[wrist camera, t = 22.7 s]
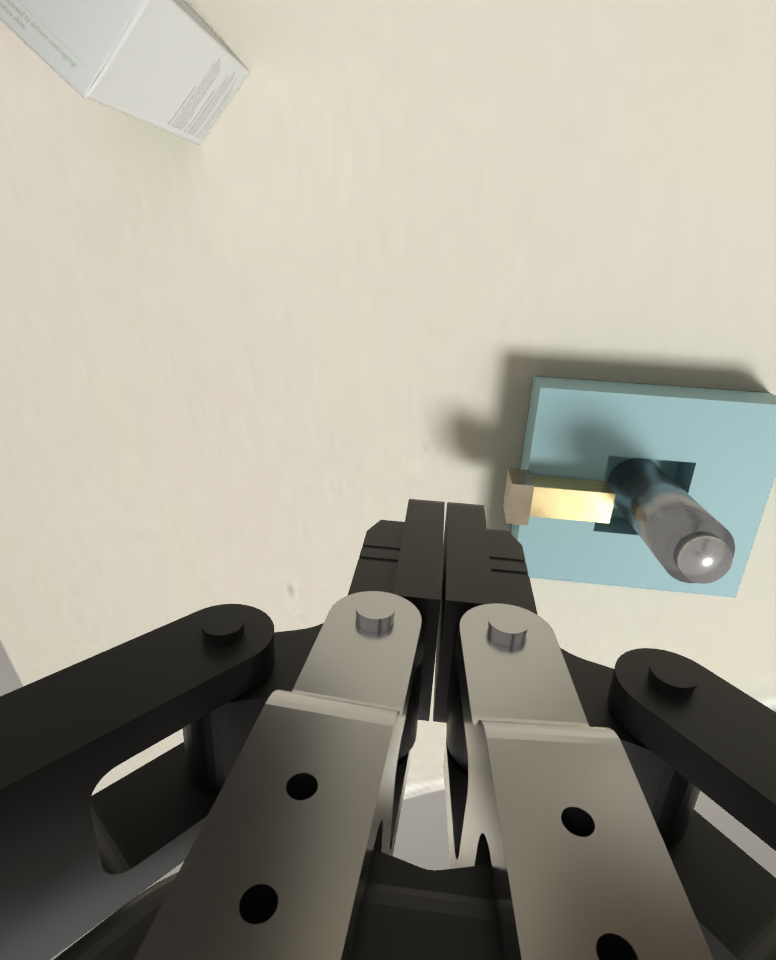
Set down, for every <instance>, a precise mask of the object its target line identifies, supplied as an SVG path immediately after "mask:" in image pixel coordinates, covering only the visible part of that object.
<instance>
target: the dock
mask: <svg viewBox="0 0 776 960" xmlns="http://www.w3.org/2000/svg"><path fill="white" fill-rule="evenodd" d="M633 458H643V459H648V460H650V461H652V462H653V463H655V464H656V465H657V466H658V467H659V468H660V469H661V470H662V471H664V472H665V473H666V474H667V475H668V476H669V477H670V478H671V479H672V480H673V481H675V482H676V483H677V484H678V485H679V486H680V487H681V488H682V489H683V490H684V491H686V492H687V493H688V494H689V495H690V496H691V497H692V498H693V499H694V500H695V501H697V502H698V503H699V504H700V505H701V506H702V507H703V508H704V509H705V510H706V511H708V512H709V513H710V514H711V515H712V516H713V517H714V518H715V519H716V520H717V521H719V522H720V523H721V524H722V525H723V526H724V527H725V528H726V529H727V530H728V531H729V532H730V533H731V535H732V536H733V539H734V542H735V553H734V557H733V561H732V565H731V568H730V569H729V571H728V572H727V573H726V574H725V575H724V576H723V577H722V578H720V579H719V580H717V581H714V582H711V583H707V584H700V583H684V582H681V581H678V580H676V579H674V578H673V577H671V576H670V575H669V574H668V573H667V571H666V570H665V569H664V567H663V566H662V565H661V564H660V562H659V561H658V560H657V558H656V557H655V556H654V554H653V553H652V552H651V550H650V549H649V548H648V546H647V545H646V544H645V543H644V541H643V540H642V539H641V537H640V536H639V535H638V533H637V532H636V531H635V529H634V528H633V527H632V525H631V524H630V523H629V522H628V520H627V519H626V518H625V516H624V515H623V514H622V512H621V511H620V510H619V508H618V507H617V506H616V504H615V503H614V504H613V509H612V513H611V518H610V522H609V523H599V522H588V521H577V520H566V519H555V518H543V517H532V516H530V517H529V523H528V526H527V525H516V524H512V528H511V534H512V535H513V536H514V537H515V538H516V539H517V540H518V541H519V542H520V544H521V545H522V547H523V552H524V556H525V563H526V565H527V570H528V575H529V578H538V579H549V580H559V581H569V582H580V583H590V584H600V585H611V586H621V587H631V588H641V589H652V590H662V591H672V592H683V593H693V594H703V595H713V596H724V597H734V598H736V595H737V592H738V589H739V586H740V583H741V580H742V576H743V573H744V570H745V567H746V564H747V561H748V558H749V555H750V552H751V549H752V546H753V543H754V540H755V537H756V533H757V530H758V527H759V524H760V521H761V518H762V515H763V512H764V509H765V506H766V503H767V500H768V497H769V494H770V490H771V487H772V484H773V481H774V478H775V475H776V396H775V395H773V394H771V393H763V392H749V391H735V390H721V389H707V388H693V387H679V386H665V385H651V384H637V383H623V382H609V381H595V380H581V379H567V378H553V377H539V376H534V378H533V384H532V391H531V398H530V405H529V412H528V419H527V425H526V432H525V439H524V446H523V453H522V459H521V466H520V469H524V470H529V471H530V474H531V475H537V476H549V477H561V478H573V479H585V480H596V481H608V478H609V476H610V474H611V472H612V471H613V469H614V468H615V467H616V466H617V465H619V464H620V463H622V462H624V461H626V460H629V459H633Z"/></svg>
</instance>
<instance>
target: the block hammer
mask: <svg viewBox="0 0 776 960" xmlns="http://www.w3.org/2000/svg"><path fill="white" fill-rule="evenodd" d="M615 495H616V494H615V492H614V490H613V489H612V487H611V486H610V484H609V483H608V481H596V480H585V479H573V478H561V477H549V476H537V475H531V474H530V471H529V470H524V469H512V468H508V473H507V480H506V487H505V495H504V502H503V509H504V514H505V519H506V524H516V525H527V526H528V523H529V517H530V516H532V517H543V518H555V519H566V520H577V521H588V522H599V523H609V522H610V518H611V513H612V509H613V504H614V499H615Z"/></svg>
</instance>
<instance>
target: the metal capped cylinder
mask: <svg viewBox="0 0 776 960" xmlns="http://www.w3.org/2000/svg"><path fill="white" fill-rule="evenodd" d="M608 483H609V484H610V486H611V487H612V489H613V490H614V492H615V494H616V495H615V499H614V503H615V504H616V506H617V507H618V508H619V510H620V511H621V512H622V514H623V515H624V516H625V518H626V519H627V520H628V522H629V523H630V524H631V525H632V527H633V528H634V529H635V531H636V532H637V533H638V535H639V536H640V537H641V539H642V540H643V541H644V543H645V544H646V545H647V546H648V548H649V549H650V550H651V552H652V553H653V554H654V556H655V557H656V558H657V560H658V561H659V562H660V564H661V565H662V566H663V567H664V569H665V570H666V571H667V573H668V574H669V575H670V576H671V577H673V578H674V579H676V580H678V581H681V582H684V583H700V584H707V583H711V582H714V581H717V580H719V579H720V578H722V577H723V576H724V575H725V574H726V573H727V572H728V571H729V569H730V568H731V565H732V561H733V557H734V553H735V542H734V539H733V536H732V535H731V533H730V532H729V531H728V530H727V529H726V528H725V527H724V526H723V525H722V524H721V523H720V522H719V521H717V520H716V519H715V518H714V517H713V516H712V515H711V514H710V513H709V512H708V511H706V510H705V509H704V508H703V507H702V506H701V505H700V504H699V503H698V502H697V501H695V500H694V499H693V498H692V497H691V496H690V495H689V494H688V493H687V492H686V491H684V490H683V489H682V488H681V487H680V486H679V485H678V484H677V483H676V482H675V481H673V480H672V479H671V478H670V477H669V476H668V475H667V474H666V473H665V472H664V471H662V470H661V469H660V468H659V467H658V466H657V465H656V464H655V463H653V462H652V461H650V460H648V459H643V458H633V459H629V460H626V461H624V462H622V463H620V464H619V465H617V466H616V467H615V468H614V469H613V471H612V472H611V474H610V476H609V478H608Z"/></svg>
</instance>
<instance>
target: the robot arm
mask: <svg viewBox="0 0 776 960" xmlns="http://www.w3.org/2000/svg"><path fill="white" fill-rule="evenodd" d="M444 504H445V502H439V501H427V500H416V499H409V502H408V508H407V514H406V519H405V522H398V521H387V520H380V521H379V522H378V523H376V524H375V525H374V526H373V527H371V528H370V529H369V530H368V531H367V533H366V536H365V540H364V543H363V547H362V550H361V553H360V557H359V560H358V563H357V566H356V570H355V573H354V576H353V580H352V583H351V586H350V590H349V593H348V596H346V597H344V598H342V599H340V600H339V601H337V602H336V603H335V604H334V605H333V606H332V608H331V609H330V611H329V613H328V615H327V618H326V620H325V622H324V623H323V624H320V625H318V626H315V627H311V628H307V629H301V630H293V631H284V632H275V633H274V625H273V622H272V620H271V619H270V617H269V616H268V615H267V614H266V613H264V612H263V611H261V610H259V609H257V608H255V607H251V606H247V605H241V604H223V605H216V606H212V607H208V608H205V609H202V610H199V611H197V612H195V613H192V614H190V615H188V616H185V617H183V618H181V619H178V620H176V621H174V622H171V623H169V624H167V625H165V626H162V627H160V628H158V629H155V630H153V631H151V632H148V633H146V634H144V635H141V636H139V637H137V638H135V639H132V640H130V641H128V642H125V643H123V644H121V645H118V646H116V647H114V648H111V649H109V650H107V651H105V652H102V653H100V654H98V655H95V656H93V657H91V658H88V659H86V660H84V661H81V662H79V663H77V664H74V665H72V666H70V667H68V668H65V669H63V670H61V671H58V672H56V673H54V674H51V675H49V676H47V677H44V678H42V679H40V680H38V681H35V682H33V683H31V684H28V685H26V686H24V687H21V688H19V689H17V690H14V691H12V692H10V693H8V694H5V695H3V696H1V697H0V960H50V959H51V958H52V957H54V956H55V955H57V954H58V953H59V952H60V951H62V950H63V949H65V948H66V947H68V946H69V945H70V944H72V943H73V942H74V941H76V940H77V939H78V938H80V937H81V936H82V935H84V934H85V933H87V932H88V931H89V930H91V929H92V928H93V927H95V926H96V925H98V924H99V923H100V922H101V921H103V920H104V919H105V920H104V921H103V922H102V923H100V924H99V925H98V926H96V927H95V928H94V929H93V930H91V931H90V932H89V933H88V934H86V935H85V936H84V937H82V938H81V939H80V940H79V941H77V942H76V943H74V944H73V945H72V946H71V947H69V948H68V949H67V950H65V951H64V952H63V953H62V954H60V955H59V956H58V957H56V958H55V959H54V960H776V878H775V877H774V876H772V875H771V874H770V873H769V872H768V871H766V870H765V869H764V868H763V867H762V866H761V865H759V864H758V863H757V862H756V861H754V860H753V859H752V858H751V857H750V856H749V855H747V854H746V853H745V852H744V851H743V850H741V849H740V848H739V847H738V846H737V845H736V844H734V843H733V842H732V841H731V840H730V839H728V838H727V837H726V836H725V835H724V834H722V833H721V832H720V831H719V830H718V829H716V828H715V827H714V826H713V825H712V824H711V823H709V822H708V821H707V820H706V819H704V818H703V817H702V816H701V815H700V814H699V813H697V812H696V811H695V810H694V806H695V804H696V801H697V798H698V795H699V792H700V790H701V791H702V792H703V793H704V794H706V795H707V796H708V797H709V798H711V799H712V800H714V802H716V803H717V804H718V805H719V806H721V807H722V808H723V809H724V810H726V811H727V812H728V813H729V814H730V815H732V816H733V817H734V818H735V819H737V820H738V821H739V822H740V823H742V824H743V825H744V826H745V827H747V828H748V829H749V830H750V831H752V832H753V833H754V834H755V835H757V836H758V837H759V838H760V839H761V840H763V841H764V842H765V843H767V844H768V845H769V846H770V847H771V848H773V849H774V850H775V851H776V712H774V711H773V710H771V709H769V708H768V707H766V706H765V705H763V704H762V703H760V702H758V701H757V700H755V699H754V698H752V697H750V696H749V695H747V694H746V693H744V692H742V691H741V690H739V689H738V688H736V687H735V686H733V685H731V684H730V683H728V682H727V681H725V680H723V679H722V678H720V677H719V676H717V675H715V674H714V673H712V672H711V671H709V670H708V669H706V668H704V667H703V666H701V665H699V664H698V663H696V662H694V661H692V660H690V659H688V658H686V657H684V656H681V655H678V654H676V653H672V652H669V651H665V650H659V649H650V648H643V649H635V650H631V651H628V652H626V653H624V654H623V655H621V656H620V657H619V658H618V660H617V662H616V664H615V669H612V668H609V667H606V666H603V665H600V664H597V663H593V662H590V661H587V660H584V659H582V658H579V657H577V656H574V655H572V654H570V653H568V652H567V651H565V650H563V649H561V648H560V647H559V644H558V641H557V639H556V636H555V633H554V631H553V629H552V628H551V627H550V625H549V624H548V623H547V622H546V621H545V620H544V619H542V618H541V617H540V616H538V615H537V610H536V606H535V601H534V597H533V592H532V588H531V583H530V579H529V575H528V570H527V565H526V563H525V556H524V552H523V547H522V545H521V544H520V542H519V541H518V540H517V539H516V538H515V537H514V536H513V535H512V534H511V533H510V532H509V531H498V530H487V529H486V521H485V512H484V506H483V505H474V504H463V503H451V502H448V503H447V511H446V521H445V531H444V542H443V530H444ZM435 654H436V666H435V689H434V711H433V721H436V722H445V723H447V738H446V746H445V755H444V782H445V796H446V811H447V825H448V839H449V854H450V868H451V869H447V870H435V871H433V870H426V869H423V868H420V867H418V866H415V865H413V864H410V863H407V862H405V861H403V860H400V859H398V858H395V857H393V852H394V846H395V841H396V835H397V829H398V824H399V819H400V813H401V807H402V801H403V796H404V791H405V785H406V780H407V774H408V768H409V762H410V750H411V748H412V747H413V745H414V742H415V739H416V732H417V721H418V720H426V721H429V715H430V705H431V695H432V684H433V674H434V664H435ZM182 728H183V736H184V742H183V743H181V744H179V745H178V746H176V747H174V748H173V749H171V750H169V751H167V752H166V753H164V754H162V755H161V756H159V757H157V758H155V759H154V760H152V761H150V762H149V763H147V764H145V765H144V766H142V767H140V768H138V769H137V770H135V771H133V772H132V773H130V774H128V775H127V776H125V777H123V778H121V779H120V780H118V781H116V782H115V783H113V784H111V785H110V786H108V787H106V788H104V789H103V790H101V791H99V792H98V793H96V794H94V795H93V796H91V795H92V792H93V790H94V788H95V787H96V785H97V784H98V782H99V781H100V780H101V779H102V778H103V776H105V775H106V774H107V773H108V772H109V771H110V770H111V769H113V768H114V767H116V766H117V765H119V764H121V763H122V762H124V761H126V760H128V759H129V758H131V757H133V756H135V755H136V754H138V753H140V752H142V751H143V750H145V749H147V748H149V747H151V746H152V745H154V744H156V743H158V742H159V741H161V740H163V739H165V738H166V737H168V736H170V735H172V734H173V733H175V732H177V731H179V730H180V729H182ZM183 861H184V863H183V865H182V867H181V869H180V870H179V872H178V873H175V874H173V875H171V876H169V877H167V878H165V879H163V880H162V881H160V882H158V883H156V884H155V885H153V886H151V887H150V888H148V887H149V886H150V885H152V884H153V883H155V882H156V881H157V880H159V879H160V878H161V877H163V876H164V875H165V874H167V873H168V872H170V871H171V870H172V869H173V868H175V867H176V866H178V865H179V864H180V863H182V862H183ZM146 888H148V889H147V890H145V889H146ZM144 890H145V891H144ZM142 891H143V892H142ZM141 892H142V893H141ZM138 894H139V895H138ZM131 899H132V900H131ZM127 902H128V903H127ZM119 908H120V909H119ZM115 911H116V912H115ZM112 913H113V914H112ZM111 914H112V915H111ZM109 915H111V916H109ZM108 916H109V917H108ZM107 917H108V918H107ZM106 918H107V919H106Z"/></svg>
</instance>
